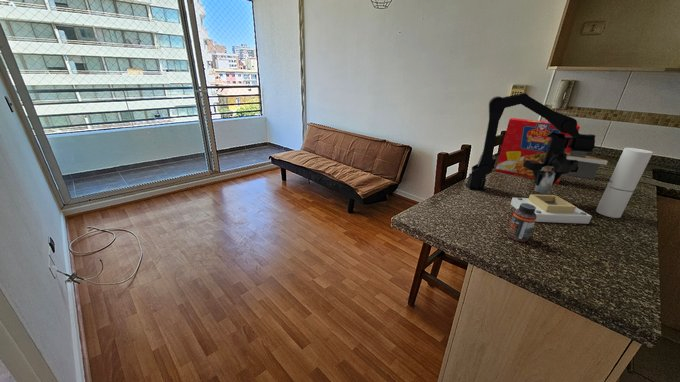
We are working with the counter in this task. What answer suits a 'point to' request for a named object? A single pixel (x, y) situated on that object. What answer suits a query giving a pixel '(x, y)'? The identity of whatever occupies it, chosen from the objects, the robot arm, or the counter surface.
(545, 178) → the spout can
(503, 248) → the counter surface
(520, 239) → the supplement bottle
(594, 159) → the architectural model
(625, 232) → the counter surface
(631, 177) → the cylindrical container
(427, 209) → the counter surface
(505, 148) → the pasta box
